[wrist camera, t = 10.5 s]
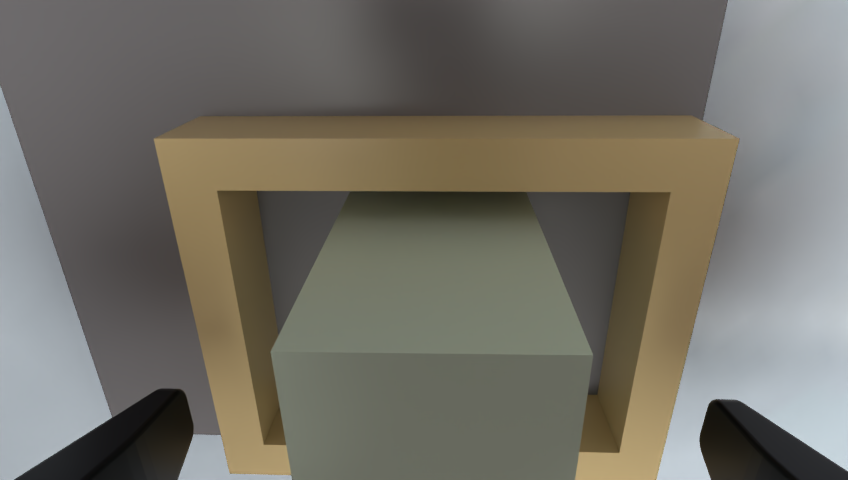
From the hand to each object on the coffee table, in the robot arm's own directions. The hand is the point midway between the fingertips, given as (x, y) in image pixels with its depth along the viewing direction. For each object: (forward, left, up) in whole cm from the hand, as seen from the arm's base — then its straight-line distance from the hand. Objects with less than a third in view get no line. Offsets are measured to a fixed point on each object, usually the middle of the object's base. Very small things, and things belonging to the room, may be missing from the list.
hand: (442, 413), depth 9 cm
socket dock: (-2, +1, -5) cm, 6 cm away
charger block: (0, 0, -4) cm, 4 cm away
